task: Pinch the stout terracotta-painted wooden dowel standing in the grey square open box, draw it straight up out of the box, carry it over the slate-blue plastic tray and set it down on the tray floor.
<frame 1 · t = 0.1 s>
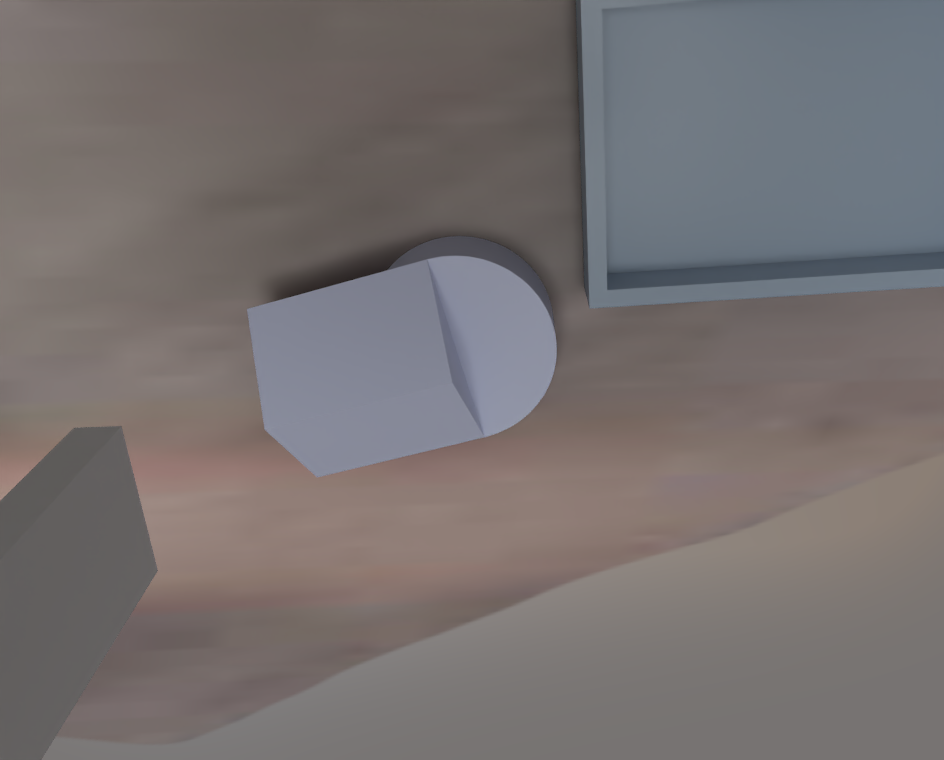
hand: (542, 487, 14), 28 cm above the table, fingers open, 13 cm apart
tray: (786, 132, 38), on the table
wedge on round base: (422, 334, 43), on the table
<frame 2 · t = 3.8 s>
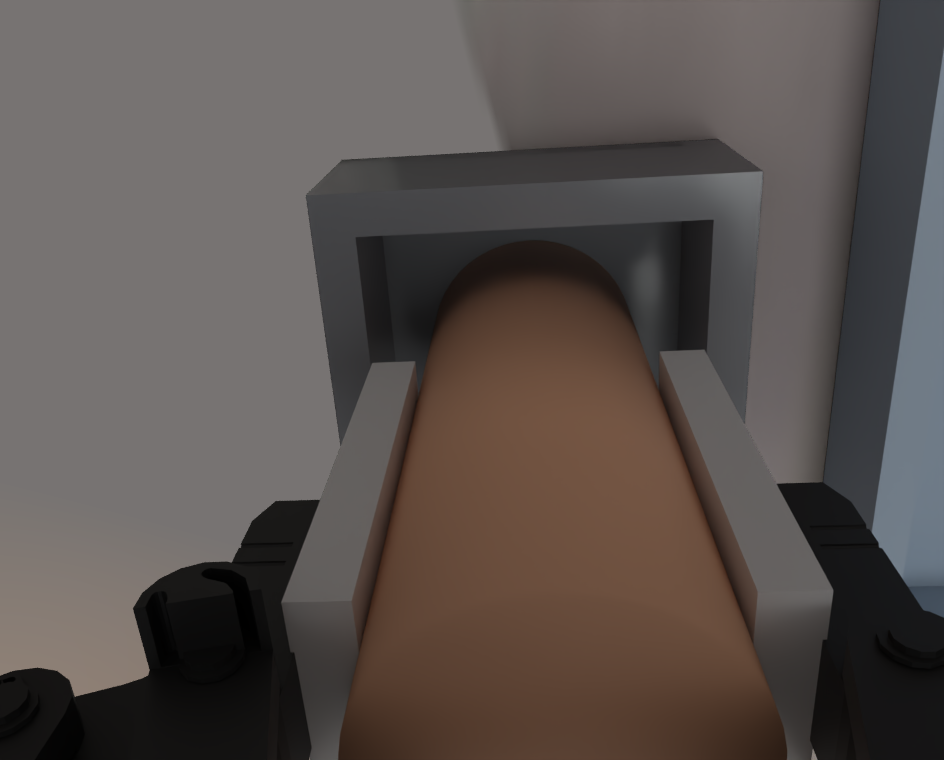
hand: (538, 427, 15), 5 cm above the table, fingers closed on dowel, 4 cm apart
grey square open box: (533, 325, 20), on the table
dowel: (532, 336, 20), point 1 cm above the table, touching gripper
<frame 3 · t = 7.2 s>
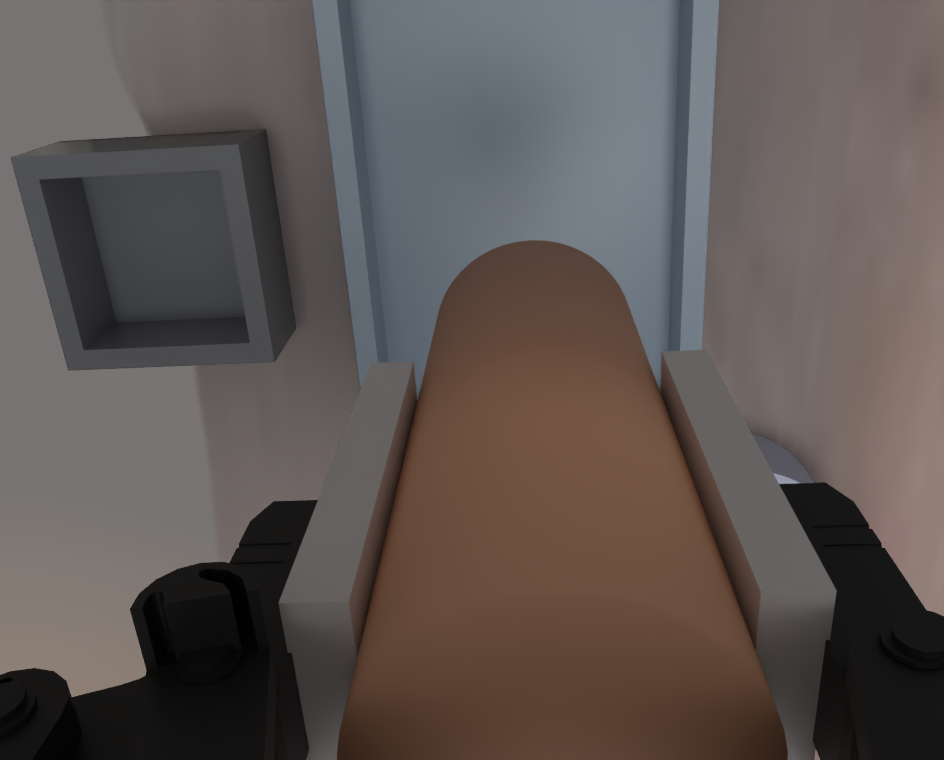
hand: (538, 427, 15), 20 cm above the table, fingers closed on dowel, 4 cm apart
tray: (520, 195, 33), on the table
grey square open box: (182, 238, 35), on the table
wedge on round base: (720, 553, 40), on the table
dowel: (533, 335, 19), point 15 cm above the table, touching gripper
when the fingers open (5 cm above the table, at t = 10.5 s): dowel stays where it is, resting on tray.
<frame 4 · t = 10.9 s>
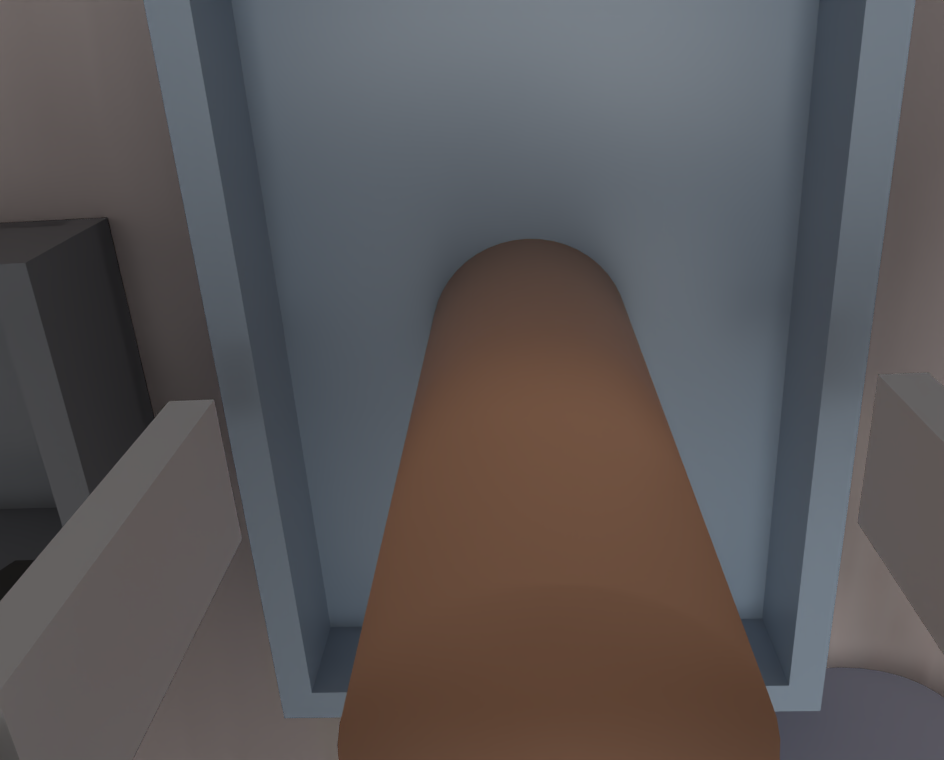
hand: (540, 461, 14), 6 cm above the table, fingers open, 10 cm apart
tray: (532, 324, 20), on the table
dowel: (529, 333, 20), point 1 cm above the table, touching tray
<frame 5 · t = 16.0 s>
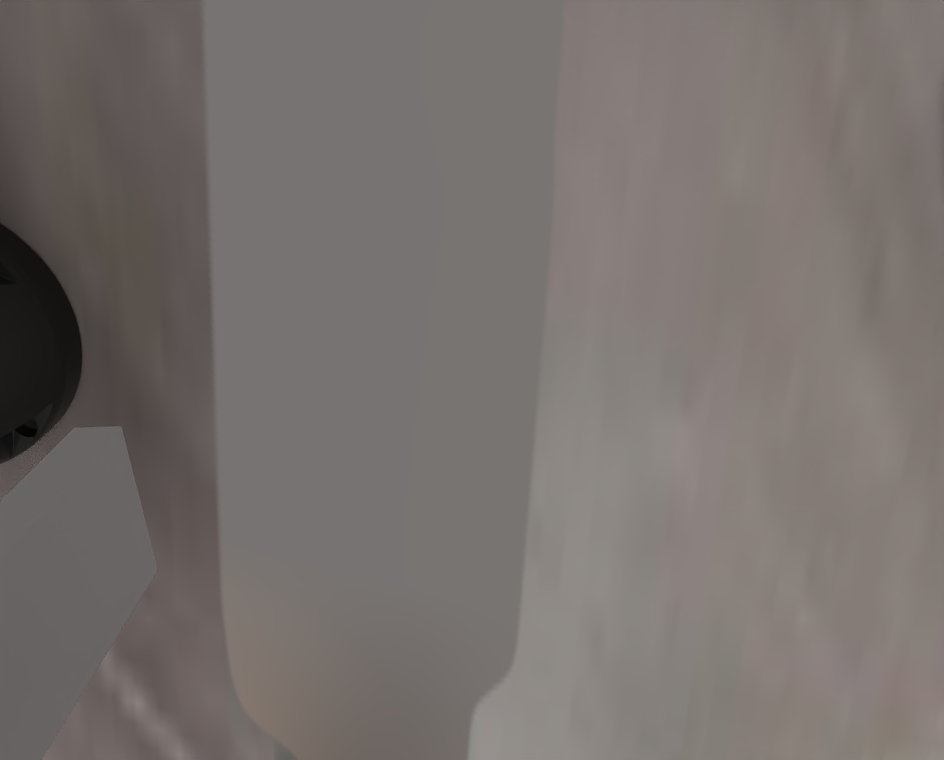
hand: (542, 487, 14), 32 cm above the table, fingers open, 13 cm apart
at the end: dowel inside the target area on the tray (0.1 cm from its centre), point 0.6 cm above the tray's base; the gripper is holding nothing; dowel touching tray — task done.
